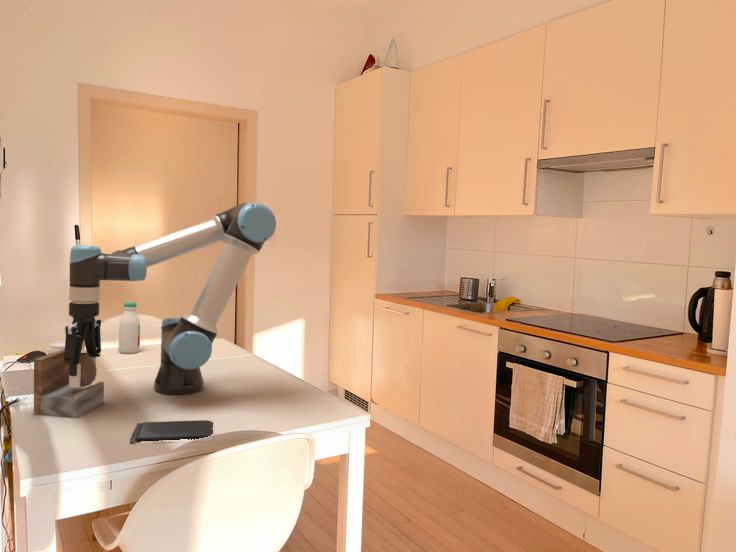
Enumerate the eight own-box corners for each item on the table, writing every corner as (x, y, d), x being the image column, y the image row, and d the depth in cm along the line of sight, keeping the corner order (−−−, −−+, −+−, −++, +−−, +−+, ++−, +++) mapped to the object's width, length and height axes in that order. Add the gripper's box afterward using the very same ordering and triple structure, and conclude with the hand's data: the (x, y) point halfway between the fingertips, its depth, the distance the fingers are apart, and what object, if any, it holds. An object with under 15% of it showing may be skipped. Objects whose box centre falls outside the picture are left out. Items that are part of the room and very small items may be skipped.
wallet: (127, 439, 137) (137, 418, 151) (127, 447, 137) (137, 425, 152) (213, 437, 141) (215, 416, 156) (213, 444, 141) (215, 423, 156)
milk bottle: (134, 354, 225) (135, 304, 223) (115, 353, 225) (116, 303, 223) (142, 350, 232) (143, 301, 231) (123, 349, 233) (124, 300, 231)
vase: (77, 389, 154) (78, 357, 154) (63, 384, 158) (64, 353, 157) (101, 384, 160) (102, 353, 159) (87, 379, 164) (87, 349, 163)
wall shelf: (103, 402, 166) (104, 351, 165) (76, 417, 152) (77, 362, 151) (63, 399, 167) (64, 348, 165) (33, 414, 153) (34, 359, 152)
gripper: (91, 296, 167) (89, 373, 169) (48, 305, 148) (47, 392, 149) (115, 298, 167) (113, 375, 169) (76, 307, 147) (74, 394, 149)
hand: (82, 383), depth 159 cm, fingers closed on vase, 7 cm apart
